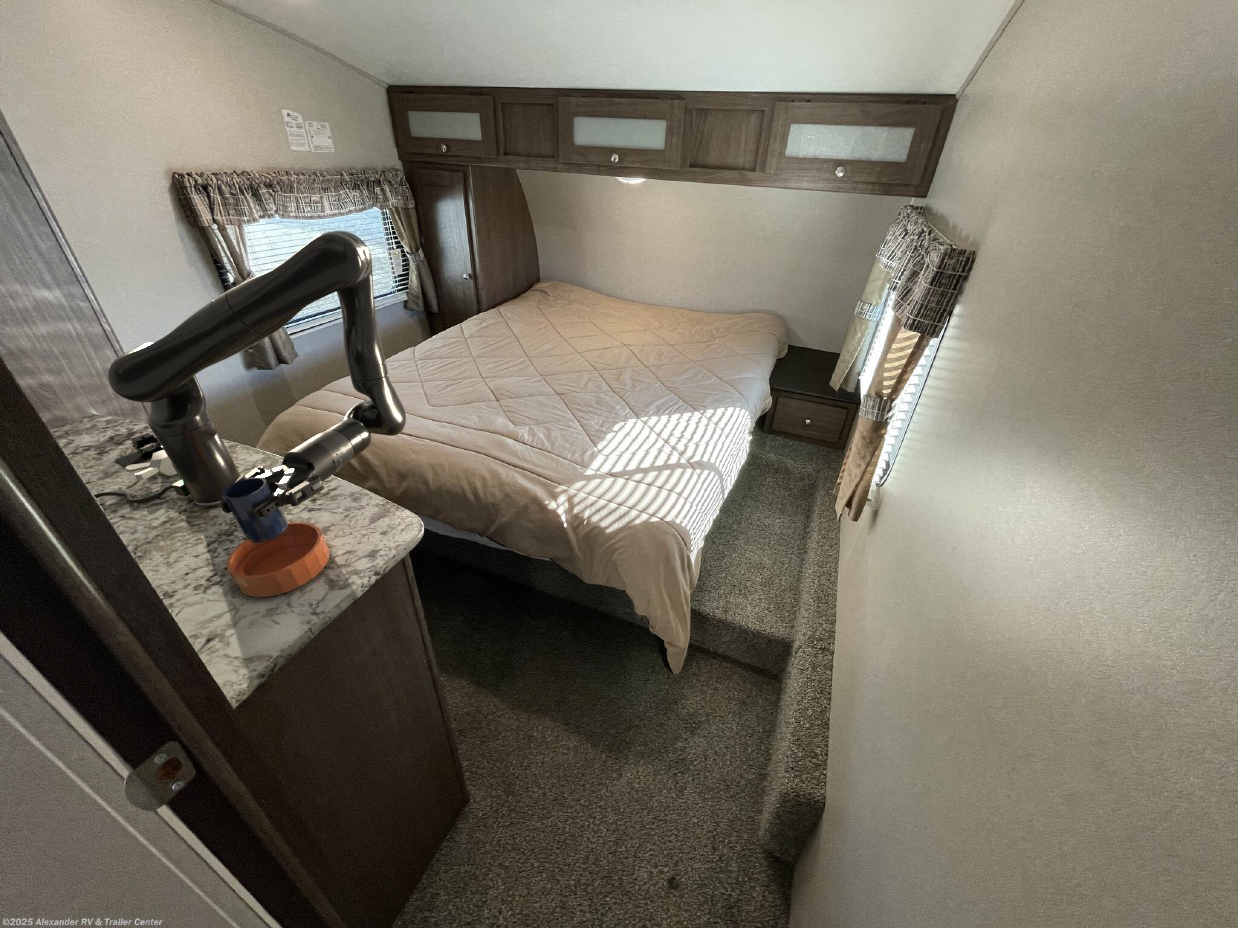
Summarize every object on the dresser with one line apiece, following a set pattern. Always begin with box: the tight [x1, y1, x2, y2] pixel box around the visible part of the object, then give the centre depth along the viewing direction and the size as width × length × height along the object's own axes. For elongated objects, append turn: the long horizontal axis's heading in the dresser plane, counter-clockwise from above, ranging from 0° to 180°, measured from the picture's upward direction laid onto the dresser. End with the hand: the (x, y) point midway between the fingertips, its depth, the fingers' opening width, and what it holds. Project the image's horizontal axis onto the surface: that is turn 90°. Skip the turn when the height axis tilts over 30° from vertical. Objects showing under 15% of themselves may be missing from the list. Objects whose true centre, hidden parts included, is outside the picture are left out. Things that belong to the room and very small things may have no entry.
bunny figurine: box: [125, 450, 178, 481], centre depth 115 cm, size 10×5×15 cm
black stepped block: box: [114, 432, 164, 468], centre depth 122 cm, size 12×7×5 cm, turn 151°
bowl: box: [226, 521, 331, 598], centre depth 86 cm, size 14×14×5 cm
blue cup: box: [222, 477, 289, 543], centre depth 80 cm, size 6×6×9 cm
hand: (239, 511), depth 77 cm, fingers closed on blue cup, 6 cm apart
